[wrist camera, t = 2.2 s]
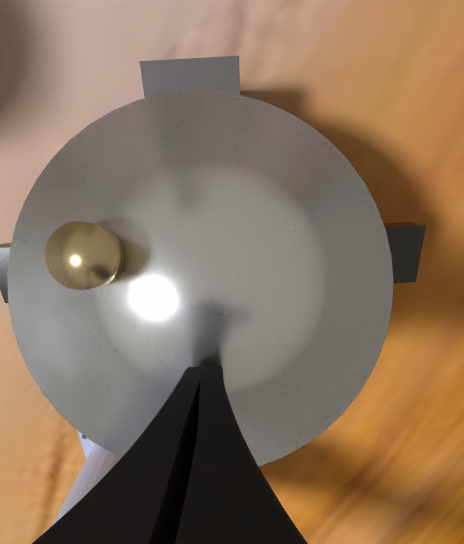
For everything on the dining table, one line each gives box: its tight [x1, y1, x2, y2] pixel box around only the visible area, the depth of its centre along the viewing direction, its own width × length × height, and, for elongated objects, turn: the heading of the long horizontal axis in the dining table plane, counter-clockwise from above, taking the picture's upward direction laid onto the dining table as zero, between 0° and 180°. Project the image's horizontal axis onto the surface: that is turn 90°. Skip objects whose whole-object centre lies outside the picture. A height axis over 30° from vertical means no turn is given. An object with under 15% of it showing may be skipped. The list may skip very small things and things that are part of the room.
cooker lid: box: [7, 91, 393, 467], centre depth 10 cm, size 15×15×2 cm
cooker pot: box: [0, 56, 426, 303], centre depth 15 cm, size 16×22×4 cm
